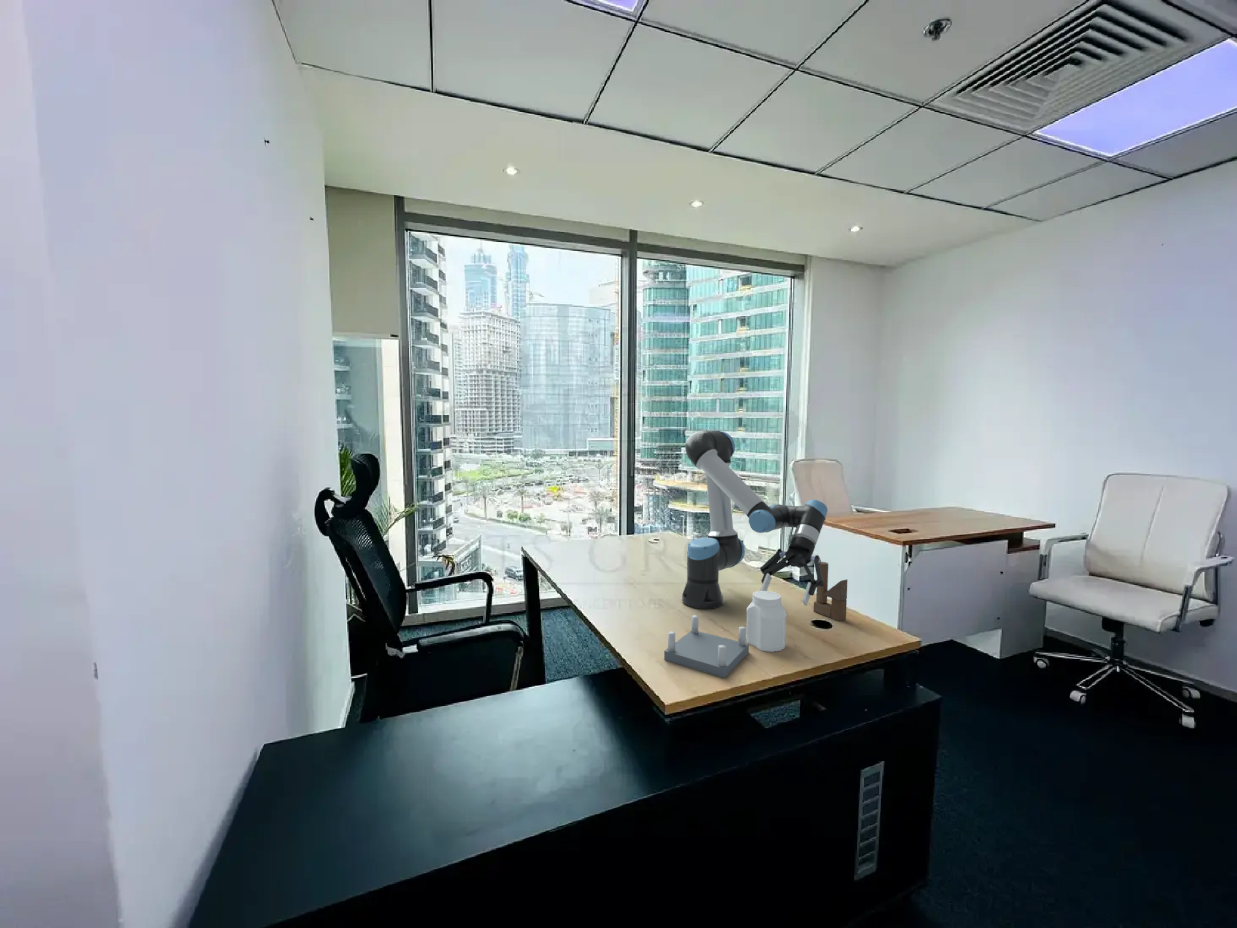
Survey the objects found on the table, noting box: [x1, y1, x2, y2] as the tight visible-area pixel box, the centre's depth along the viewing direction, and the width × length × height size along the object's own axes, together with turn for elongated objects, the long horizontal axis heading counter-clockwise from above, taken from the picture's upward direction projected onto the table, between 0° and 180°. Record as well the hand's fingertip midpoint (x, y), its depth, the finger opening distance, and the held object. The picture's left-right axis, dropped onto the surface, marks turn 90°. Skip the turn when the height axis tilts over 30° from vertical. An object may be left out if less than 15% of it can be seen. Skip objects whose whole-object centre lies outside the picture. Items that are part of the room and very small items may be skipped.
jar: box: [745, 590, 787, 653], centre depth 148 cm, size 12×10×15 cm
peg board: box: [663, 614, 750, 679], centre depth 140 cm, size 18×18×8 cm
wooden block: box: [813, 561, 848, 622], centre depth 171 cm, size 4×11×18 cm, turn 29°
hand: (782, 598), depth 151 cm, fingers open, 13 cm apart
